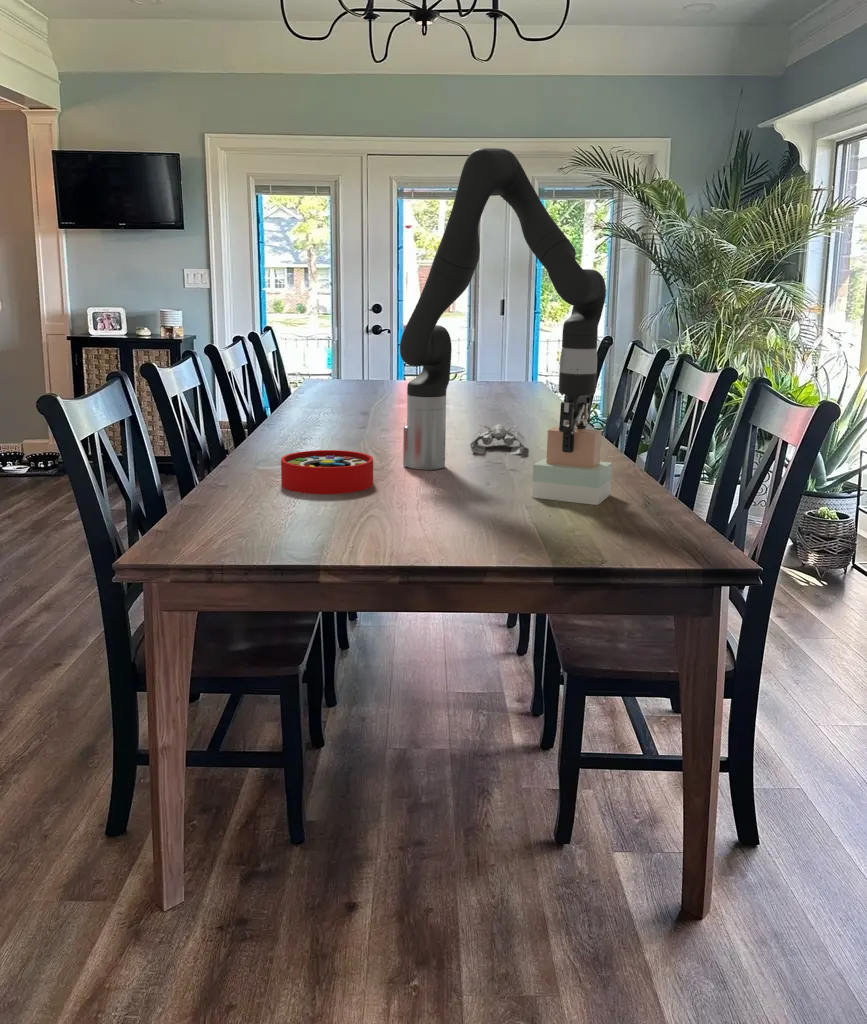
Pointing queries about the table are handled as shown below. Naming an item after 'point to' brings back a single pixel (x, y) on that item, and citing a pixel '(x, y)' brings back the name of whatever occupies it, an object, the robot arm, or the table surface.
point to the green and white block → (571, 482)
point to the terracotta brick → (575, 448)
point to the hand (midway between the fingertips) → (573, 448)
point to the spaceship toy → (498, 433)
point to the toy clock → (326, 471)
